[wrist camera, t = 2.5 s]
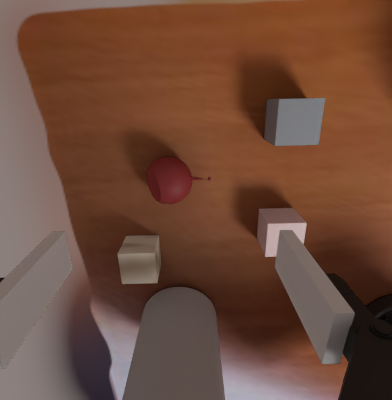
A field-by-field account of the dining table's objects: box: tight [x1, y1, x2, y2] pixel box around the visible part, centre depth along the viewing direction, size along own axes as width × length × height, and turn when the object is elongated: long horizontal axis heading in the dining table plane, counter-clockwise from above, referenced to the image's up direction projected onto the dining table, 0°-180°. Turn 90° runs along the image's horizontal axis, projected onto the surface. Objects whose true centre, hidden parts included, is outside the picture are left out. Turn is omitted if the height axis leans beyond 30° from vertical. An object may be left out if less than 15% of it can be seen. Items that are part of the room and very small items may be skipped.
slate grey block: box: [264, 98, 325, 146], centre depth 31 cm, size 5×5×5 cm
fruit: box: [146, 157, 211, 204], centre depth 33 cm, size 6×6×8 cm
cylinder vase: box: [122, 287, 225, 400], centre depth 33 cm, size 12×12×25 cm
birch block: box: [117, 235, 161, 284], centre depth 38 cm, size 5×5×5 cm
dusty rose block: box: [257, 208, 307, 257], centre depth 37 cm, size 5×5×5 cm
